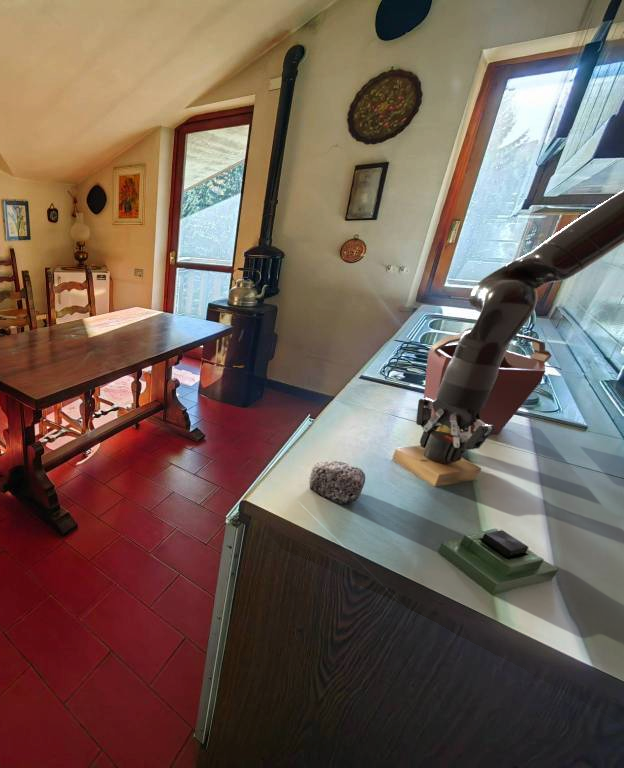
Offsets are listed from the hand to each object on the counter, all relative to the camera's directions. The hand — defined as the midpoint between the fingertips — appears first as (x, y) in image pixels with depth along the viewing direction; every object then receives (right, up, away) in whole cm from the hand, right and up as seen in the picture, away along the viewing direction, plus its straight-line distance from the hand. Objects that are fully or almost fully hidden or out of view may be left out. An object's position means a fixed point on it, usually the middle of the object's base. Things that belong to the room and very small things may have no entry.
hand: (437, 453), depth 83 cm
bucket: (+27, +5, +23) cm, 36 cm away
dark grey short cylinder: (0, -1, 0) cm, 1 cm away
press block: (-10, -14, -23) cm, 28 cm away
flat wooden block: (0, -4, +2) cm, 4 cm away
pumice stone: (-26, -7, -7) cm, 27 cm away
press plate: (-10, -10, -24) cm, 28 cm away
